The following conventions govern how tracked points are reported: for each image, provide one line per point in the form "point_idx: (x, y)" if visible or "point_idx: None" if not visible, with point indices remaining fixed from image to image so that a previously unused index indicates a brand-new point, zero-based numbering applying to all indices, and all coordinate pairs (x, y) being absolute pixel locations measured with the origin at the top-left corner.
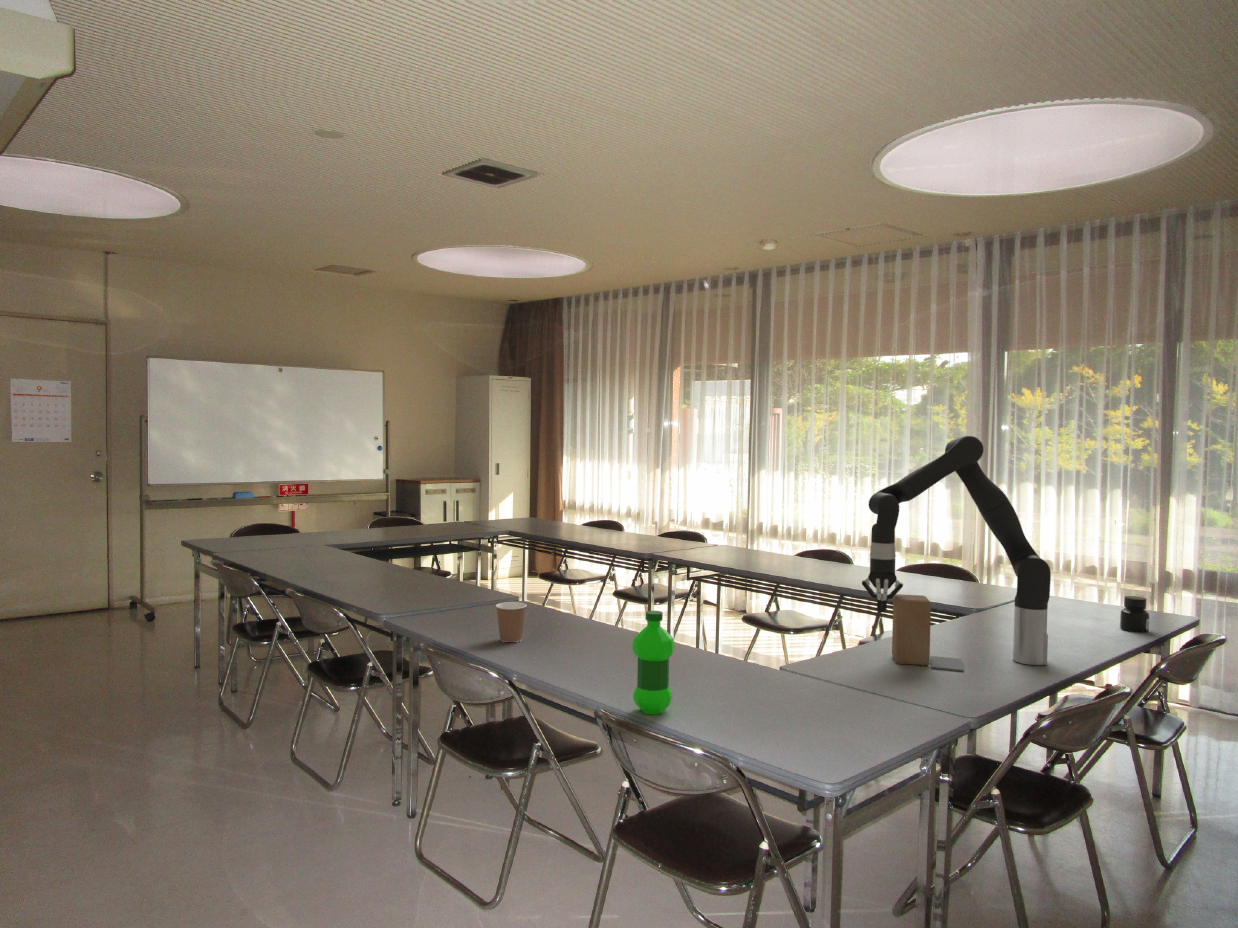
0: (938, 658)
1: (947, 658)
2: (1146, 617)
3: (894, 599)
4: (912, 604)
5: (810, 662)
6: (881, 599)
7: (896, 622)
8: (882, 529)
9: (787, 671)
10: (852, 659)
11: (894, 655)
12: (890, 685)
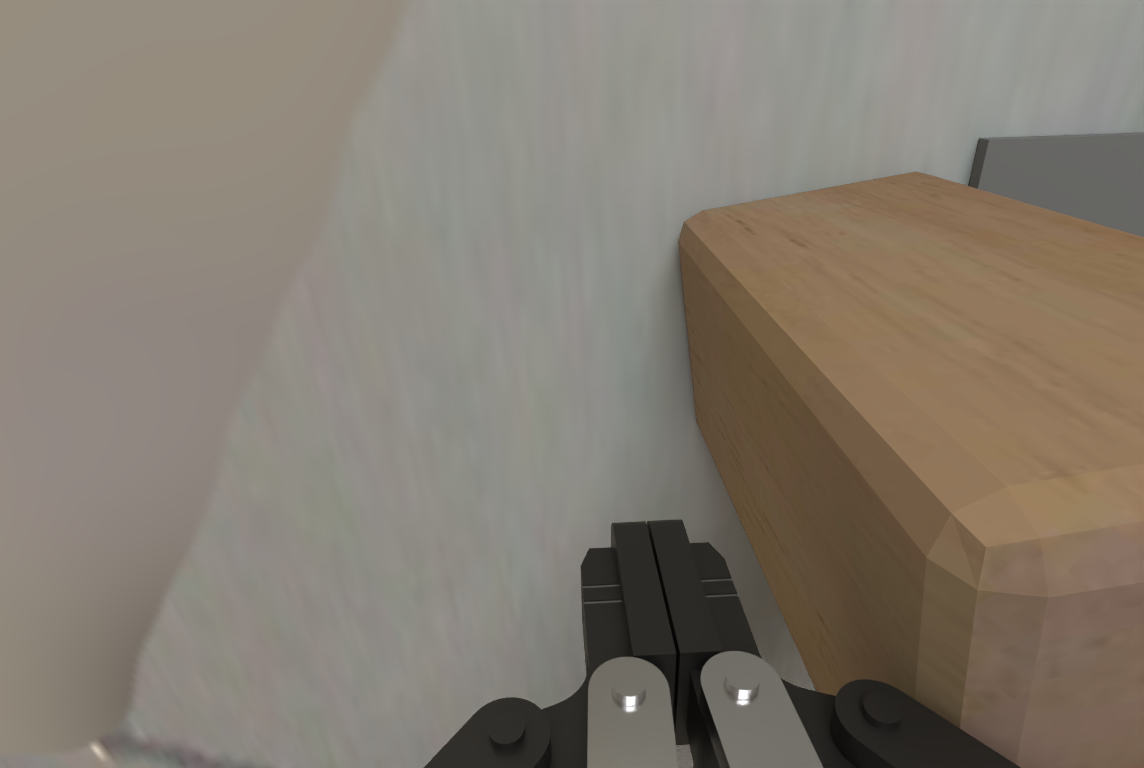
0: (1031, 202)
1: (1107, 171)
2: None
3: (909, 688)
4: None
5: (188, 591)
6: (665, 676)
7: (792, 634)
8: None
9: (155, 762)
10: (408, 431)
11: (697, 395)
12: None
